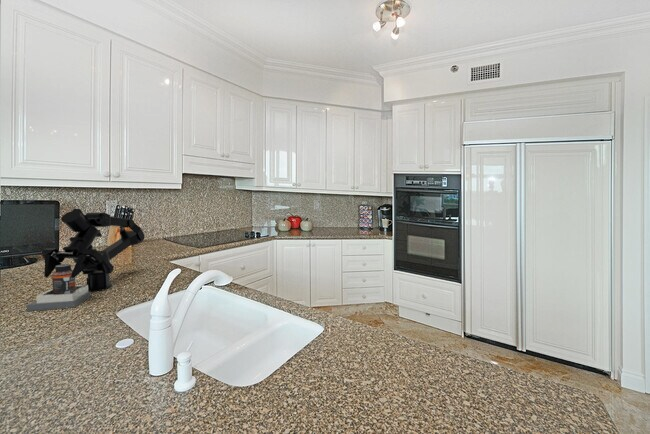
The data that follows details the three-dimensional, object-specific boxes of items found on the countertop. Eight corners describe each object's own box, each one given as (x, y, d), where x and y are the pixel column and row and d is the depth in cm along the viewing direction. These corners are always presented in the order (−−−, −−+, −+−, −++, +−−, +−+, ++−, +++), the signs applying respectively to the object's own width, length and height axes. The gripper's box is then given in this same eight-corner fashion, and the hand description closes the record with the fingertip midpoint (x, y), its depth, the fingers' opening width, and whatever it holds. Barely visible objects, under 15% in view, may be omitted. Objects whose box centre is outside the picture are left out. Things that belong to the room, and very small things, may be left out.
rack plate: (91, 296, 111) (90, 284, 111) (74, 307, 100) (73, 294, 100) (49, 299, 108) (48, 287, 108) (27, 311, 97) (25, 297, 97)
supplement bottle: (74, 298, 103) (71, 266, 102) (51, 301, 100) (48, 268, 99) (78, 293, 108) (75, 262, 107) (56, 296, 105) (54, 264, 105)
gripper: (119, 251, 118) (99, 288, 108) (72, 251, 119) (48, 287, 109) (103, 234, 110) (80, 272, 100) (53, 234, 110) (24, 272, 100)
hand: (59, 277), depth 102 cm, fingers open, 9 cm apart
